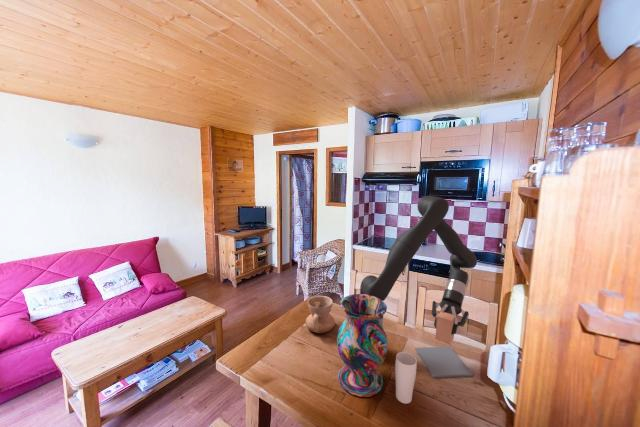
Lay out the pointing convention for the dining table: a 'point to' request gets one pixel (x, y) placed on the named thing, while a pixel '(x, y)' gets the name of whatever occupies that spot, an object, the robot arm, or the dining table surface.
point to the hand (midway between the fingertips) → (444, 330)
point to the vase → (362, 344)
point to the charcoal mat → (443, 362)
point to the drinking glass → (405, 376)
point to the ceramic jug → (320, 315)
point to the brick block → (444, 327)
